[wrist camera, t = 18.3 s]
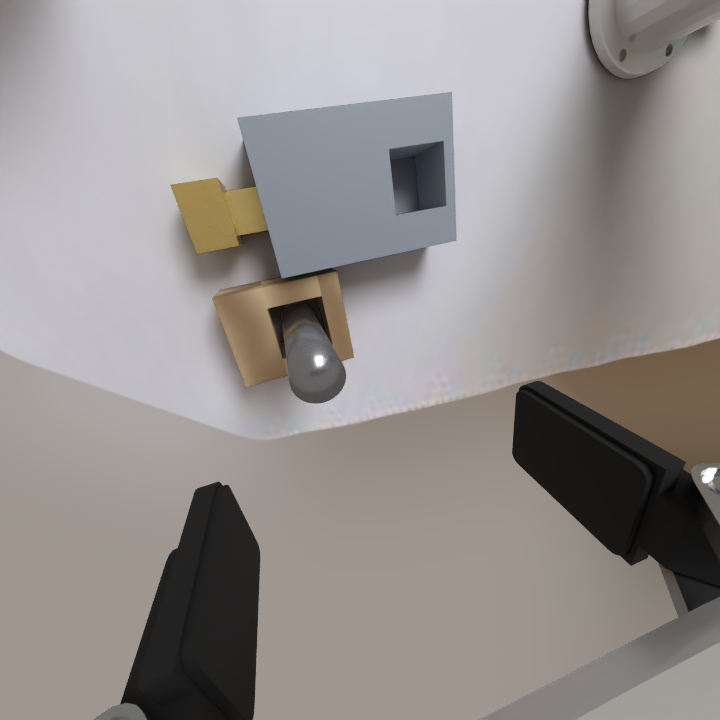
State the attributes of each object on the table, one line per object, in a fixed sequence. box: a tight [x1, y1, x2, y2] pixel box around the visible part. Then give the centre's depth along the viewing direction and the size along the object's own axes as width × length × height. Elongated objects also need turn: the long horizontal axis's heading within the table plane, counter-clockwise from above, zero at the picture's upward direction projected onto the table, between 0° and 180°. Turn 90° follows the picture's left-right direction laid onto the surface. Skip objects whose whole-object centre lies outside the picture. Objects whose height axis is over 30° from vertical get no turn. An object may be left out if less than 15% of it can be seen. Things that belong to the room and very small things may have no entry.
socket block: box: [237, 92, 456, 278], centre depth 24 cm, size 15×10×5 cm, turn 100°
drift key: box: [171, 178, 268, 254], centre depth 24 cm, size 13×4×4 cm, turn 100°
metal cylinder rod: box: [281, 302, 346, 403], centre depth 23 cm, size 3×3×14 cm
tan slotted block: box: [212, 268, 354, 387], centre depth 27 cm, size 10×8×4 cm
